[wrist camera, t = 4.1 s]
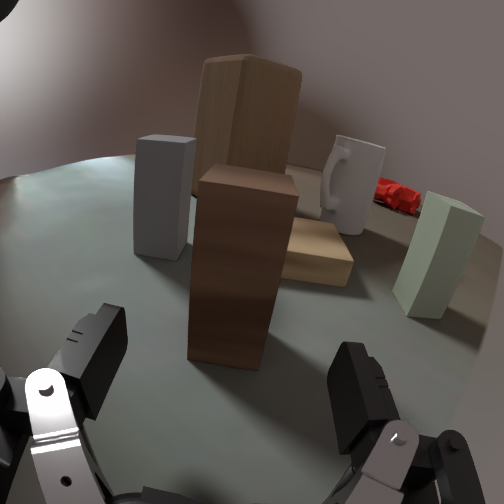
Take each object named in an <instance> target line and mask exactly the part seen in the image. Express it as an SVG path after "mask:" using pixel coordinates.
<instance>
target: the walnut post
mask: <svg viewBox="0 0 504 504" xmlns="http://www.w3.org/2000/svg"><path fill="white" fill-rule="evenodd" d="M298 198H299V195H298V192H297V190H296V187H295V184H294V181H293V179H292V176H290V175H285V174H279V173H274V172H268V171H262V170H256V169H249V168H243V167H236V166H229V165H222V164H214V165H213V166H212V167H211V168H210V169H209V170H208V171H207V172H206V174H205V175H204V176H203V177H202V178H201V179H200V180H199V185H198V195H197V205H196V215H195V227H194V239H193V252H192V266H191V282H190V300H189V322H188V351H187V360H193V361H198V362H204V363H209V364H215V365H221V366H228V367H234V368H241V369H248V370H256V371H258V368H259V364H260V360H261V356H262V353H263V349H264V345H265V341H266V337H267V333H268V329H269V325H270V321H271V317H272V313H273V308H274V304H275V300H276V296H277V292H278V288H279V283H280V279H281V275H282V271H283V266H284V262H285V257H286V253H287V249H288V244H289V240H290V235H291V231H292V226H293V222H294V217H295V212H296V208H297V203H298Z"/></svg>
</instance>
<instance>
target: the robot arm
mask: <svg viewBox="0 0 504 504" xmlns="http://www.w3.org/2000/svg"><path fill="white" fill-rule="evenodd" d="M18 1H19V0H0V22H1V21H2V20H3V19H5V18H6V17H7V16H8V15H9V14H10V12H11V11H12V10H13V9H14V7H15V6H16V4H17V2H18ZM127 344H128V336H127V327H126V316H125V309H124V308H123V307H119V306H115V305H111V304H107V303H104V304H103V305H102V306H101V308H100V309H99V310H98V312H97V313H96V315H94V314H88V315H87V316H85V317H84V318H82V319H81V320H79V321H78V323H77V324H76V325H75V327H74V328H73V330H72V332H71V333H70V334H69V336H68V337H67V340H65V341H64V343H63V344H62V346H61V347H60V349H59V350H58V352H57V353H56V355H55V356H54V358H53V359H52V361H51V362H50V364H49V366H48V367H47V368H46V369H41V370H38V371H36V372H34V373H32V374H31V375H30V376H29V377H28V378H19V377H11V376H6V374H5V372H4V370H3V369H2V368H1V367H0V504H5V503H6V500H7V497H8V494H9V491H10V488H11V485H12V482H13V479H14V476H15V473H16V470H17V468H18V465H19V462H20V459H21V457H22V454H23V452H24V449H25V447H26V444H27V442H28V439H29V437H30V436H34V442H33V443H31V452H32V457H33V461H34V464H35V468H36V472H37V475H38V479H39V482H40V485H41V488H42V491H43V495H44V497H45V500H46V503H47V504H203V503H200V502H197V501H195V500H192V499H190V498H187V497H185V496H182V495H180V494H176V493H171V492H166V491H162V490H157V489H153V488H149V487H145V486H143V490H142V493H138V492H136V493H125V494H120V495H116V496H114V495H113V492H112V490H111V488H110V486H109V484H108V482H107V480H106V479H105V477H104V475H103V473H102V471H101V469H100V466H99V464H98V462H97V459H96V457H95V454H94V452H93V449H92V446H91V444H90V441H89V438H88V436H87V433H86V430H85V427H84V425H83V422H84V420H85V418H89V419H92V420H95V421H96V418H97V416H98V413H99V411H100V409H101V406H102V404H103V402H104V399H105V397H106V395H107V393H108V390H109V388H110V386H111V384H112V381H113V379H114V377H115V375H116V372H117V370H118V368H119V366H120V364H121V362H122V360H123V357H124V355H125V353H126V350H127ZM327 386H328V391H329V396H330V401H331V407H332V412H333V418H334V423H335V429H336V435H337V441H338V447H339V453H340V455H345V454H351V460H352V462H351V464H350V465H349V467H348V468H347V470H346V471H345V473H344V474H343V476H342V477H341V479H340V480H339V482H338V483H337V485H336V486H335V487H334V489H333V490H332V492H331V493H330V495H329V496H328V497H327V499H326V500H325V501H324V502H323V503H322V504H439V500H438V496H437V490H436V486H435V482H434V481H435V480H436V479H437V483H438V487H439V492H440V496H441V504H485V500H484V496H483V492H482V489H481V485H480V482H479V478H478V475H477V472H476V469H475V466H474V462H473V459H472V456H471V453H470V450H469V447H468V444H467V442H466V440H465V438H464V437H463V436H462V435H461V434H460V433H459V432H457V431H454V430H446V431H444V432H442V433H441V434H440V435H439V436H438V437H437V438H434V437H428V436H423V435H418V433H417V431H416V430H415V428H414V427H413V426H412V425H411V424H409V423H407V422H405V421H402V420H400V417H399V414H398V411H397V408H396V406H395V403H394V400H393V397H392V394H391V391H390V389H389V388H388V383H387V380H386V379H385V375H384V372H383V370H382V367H381V366H380V364H379V363H378V362H377V361H376V360H375V359H374V357H368V354H367V351H366V349H365V346H364V344H363V343H356V342H342V343H341V345H340V347H339V349H338V351H337V354H336V356H335V358H334V360H333V362H332V364H331V366H330V368H329V371H328V375H327Z"/></svg>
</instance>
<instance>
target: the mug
mask: <svg viewBox="0 0 504 504" xmlns="http://www.w3.org/2000/svg"><path fill="white" fill-rule="evenodd" d="M385 152H386V148H384V147H381V146H378V145H375V144H371V143H368V142H364V141H361V140H357V139H353V138H349V137H345V136H341V135H337V137H336V141H335V145H334V146H333V150H332V152H331V154H330V156H329V158H328V160H327V162H326V165H325V168H324V171H323V175H322V180H321V189H320V207H321V208H322V211H321V216H320V221H321V222H327V223H332V224H334V225H335V227H336V229H337V231H338V233H342V234H346V235H360V234H361V233H362V232H363V229H364V226H365V223H366V220H367V217H368V214H369V211H370V208H371V204H372V201H373V197H374V194H375V191H376V187H377V184H378V180H379V176H380V173H381V169H382V165H383V161H384V157H385Z"/></svg>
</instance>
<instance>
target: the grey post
mask: <svg viewBox="0 0 504 504" xmlns="http://www.w3.org/2000/svg"><path fill="white" fill-rule="evenodd" d="M196 143H197V138H190V137H180V136H168V135H156V134H155V135H150V136H146V137H142V138H139V139H137V142H136V157H135V175H134V210H133V239H134V254H138V255H144V256H150V257H155V258H161V259H167V260H173V261H177V259H178V257H179V256H180V254H181V252H182V250H183V248H184V247H185V245H186V243H187V237H188V223H189V211H190V200H191V189H192V179H193V169H194V160H195V151H196Z"/></svg>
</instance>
